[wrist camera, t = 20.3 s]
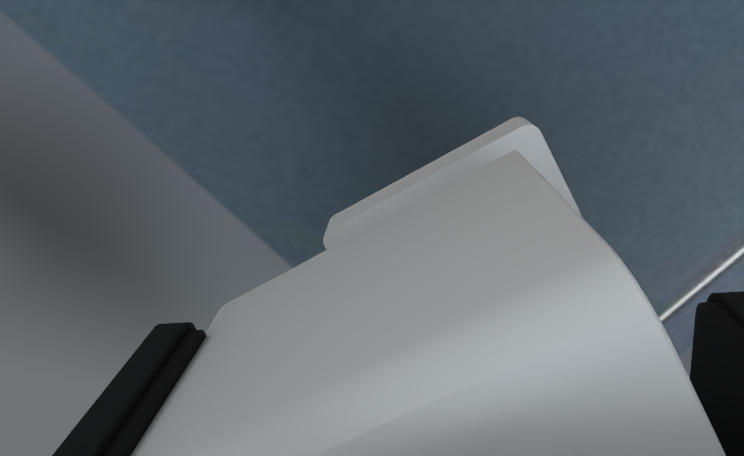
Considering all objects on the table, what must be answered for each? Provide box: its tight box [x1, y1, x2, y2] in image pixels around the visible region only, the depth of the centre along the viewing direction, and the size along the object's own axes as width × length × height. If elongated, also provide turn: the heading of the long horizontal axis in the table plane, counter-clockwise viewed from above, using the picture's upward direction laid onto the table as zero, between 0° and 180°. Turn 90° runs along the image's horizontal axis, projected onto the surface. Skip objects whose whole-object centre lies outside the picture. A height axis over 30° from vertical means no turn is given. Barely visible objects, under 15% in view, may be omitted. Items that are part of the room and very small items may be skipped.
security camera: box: [131, 117, 726, 456], centre depth 11 cm, size 6×7×10 cm
